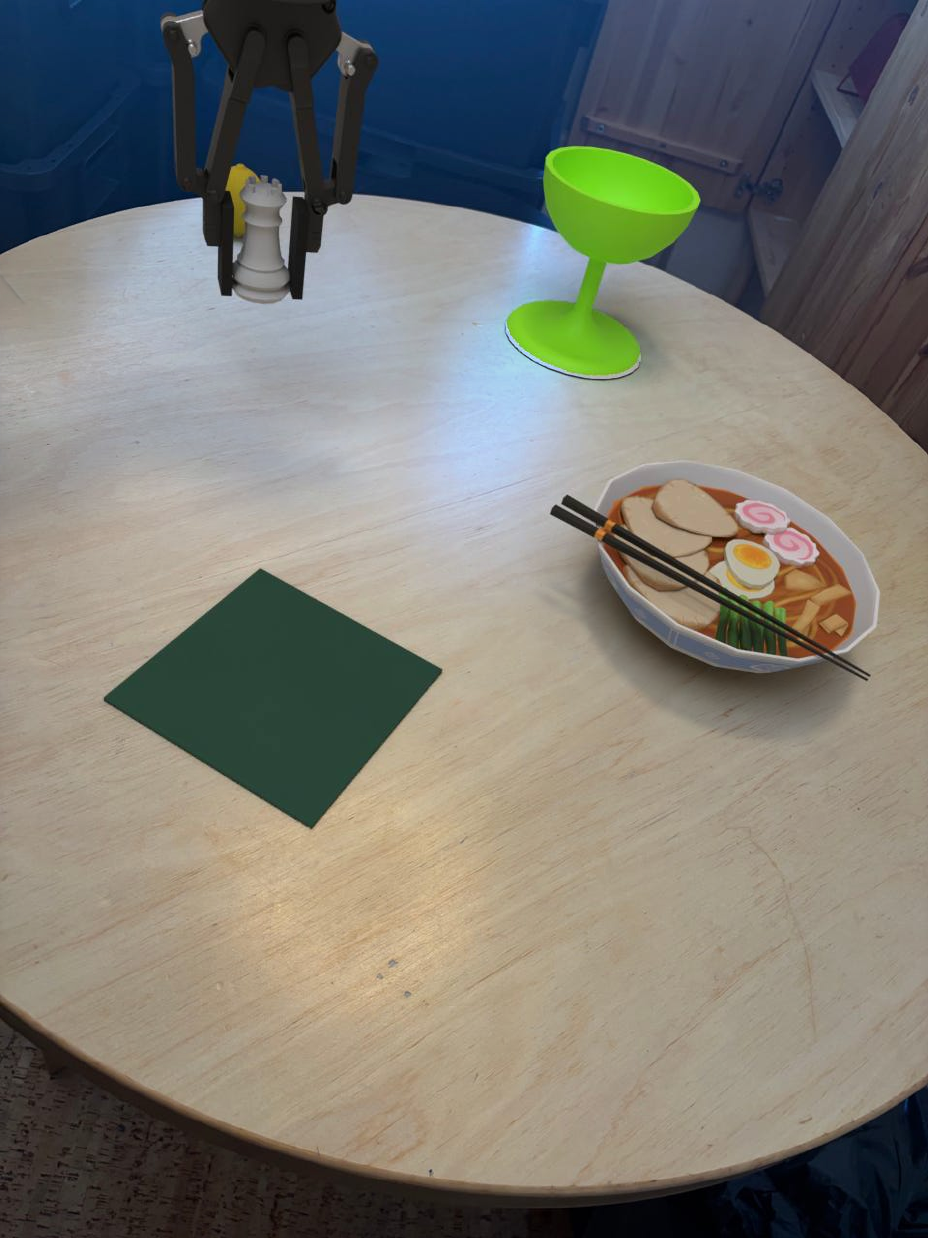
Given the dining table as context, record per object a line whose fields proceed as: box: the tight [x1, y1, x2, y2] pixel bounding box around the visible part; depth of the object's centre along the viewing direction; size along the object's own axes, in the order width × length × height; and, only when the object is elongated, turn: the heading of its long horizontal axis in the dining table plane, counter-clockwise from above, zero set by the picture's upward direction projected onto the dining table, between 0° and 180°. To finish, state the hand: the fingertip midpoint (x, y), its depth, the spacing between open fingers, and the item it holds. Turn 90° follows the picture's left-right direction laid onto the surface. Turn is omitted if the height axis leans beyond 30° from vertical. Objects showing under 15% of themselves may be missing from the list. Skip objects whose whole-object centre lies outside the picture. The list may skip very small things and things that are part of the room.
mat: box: [103, 567, 443, 829], centre depth 64 cm, size 16×16×1 cm
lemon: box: [225, 163, 261, 237], centre depth 106 cm, size 6×6×8 cm
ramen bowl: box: [549, 459, 881, 682], centre depth 75 cm, size 25×23×8 cm
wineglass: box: [506, 145, 701, 376], centre depth 101 cm, size 16×16×18 cm
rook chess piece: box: [232, 174, 290, 305], centre depth 68 cm, size 4×4×8 cm
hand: (259, 288), depth 71 cm, fingers closed on rook chess piece, 4 cm apart
